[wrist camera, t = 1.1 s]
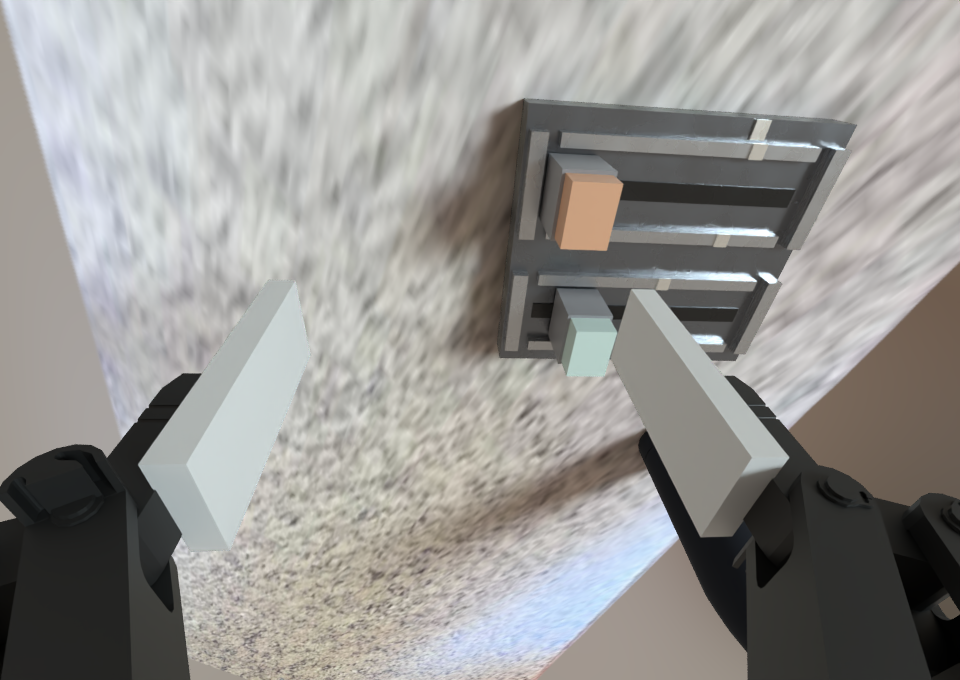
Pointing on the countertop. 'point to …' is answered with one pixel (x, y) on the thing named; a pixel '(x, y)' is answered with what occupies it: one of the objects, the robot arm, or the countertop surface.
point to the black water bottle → (705, 550)
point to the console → (670, 215)
